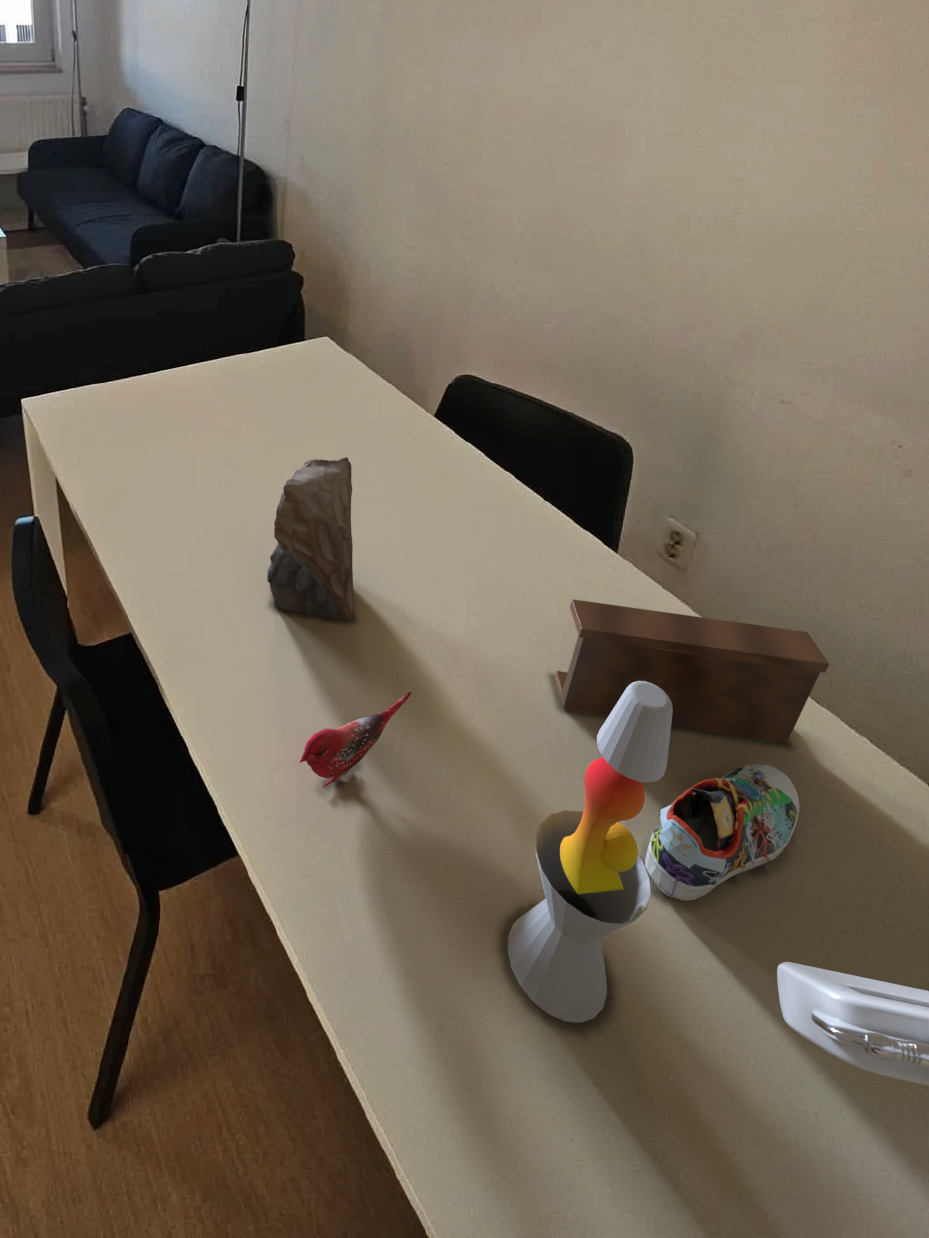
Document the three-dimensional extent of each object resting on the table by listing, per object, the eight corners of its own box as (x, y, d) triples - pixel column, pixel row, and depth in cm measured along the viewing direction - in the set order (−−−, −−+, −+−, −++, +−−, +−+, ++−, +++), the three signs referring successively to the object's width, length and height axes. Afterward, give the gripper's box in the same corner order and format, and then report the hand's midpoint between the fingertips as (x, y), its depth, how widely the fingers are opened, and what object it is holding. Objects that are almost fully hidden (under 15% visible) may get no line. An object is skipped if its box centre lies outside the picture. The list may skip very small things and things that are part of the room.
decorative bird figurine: (286, 799, 84) (291, 737, 80) (397, 718, 93) (406, 659, 89) (303, 821, 82) (309, 758, 78) (414, 736, 91) (425, 676, 87)
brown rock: (264, 610, 109) (271, 496, 101) (273, 550, 120) (281, 444, 112) (352, 623, 107) (367, 508, 99) (354, 561, 119) (367, 454, 111)
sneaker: (814, 826, 83) (846, 766, 79) (695, 931, 73) (724, 869, 69) (744, 767, 89) (770, 709, 85) (625, 857, 79) (648, 797, 75)
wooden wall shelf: (772, 710, 96) (807, 631, 91) (791, 744, 92) (829, 664, 87) (550, 676, 100) (571, 598, 95) (558, 708, 96) (581, 628, 90)
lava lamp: (532, 1030, 66) (628, 756, 52) (489, 913, 74) (563, 649, 60) (630, 1019, 67) (750, 747, 53) (577, 905, 75) (669, 643, 61)
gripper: (852, 1110, 45) (743, 1017, 57) (1281, 1211, 41) (1064, 1088, 53) (832, 974, 47) (732, 914, 60) (1233, 1058, 43) (1037, 975, 56)
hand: (891, 997), depth 56 cm, fingers closed
